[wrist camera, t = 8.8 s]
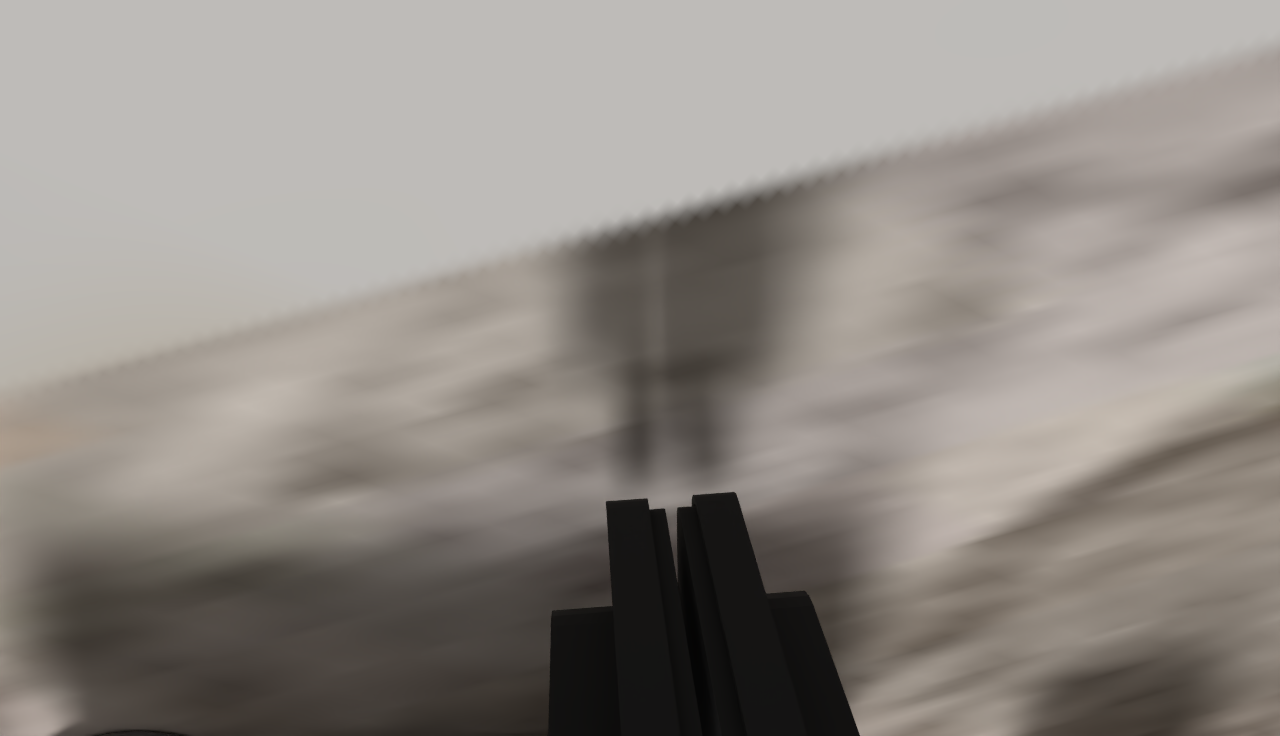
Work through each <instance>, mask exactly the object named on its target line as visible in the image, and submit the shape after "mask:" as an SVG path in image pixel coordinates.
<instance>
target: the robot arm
mask: <svg viewBox="0 0 1280 736" xmlns="http://www.w3.org/2000/svg"><path fill="white" fill-rule="evenodd" d="M606 510H607V525H608V541H609V557H610V572H611V588H612V604H613V606H607V607H594V608H582V609H569V610H557V611H552V617H551V649H550V691H549V733H548V736H860V735H859V732H858V729H857V726H856V723H855V721H854V718H853V715H852V712H851V709H850V707H849V704H848V701H847V698H846V695H845V693H844V690H843V687H842V684H841V682H840V679H839V676H838V673H837V670H836V668H835V665H834V662H833V659H832V656H831V654H830V651H829V648H828V645H827V642H826V640H825V637H824V634H823V631H822V628H821V626H820V623H819V620H818V617H817V614H816V612H815V609H814V606H813V604H812V601H811V599H810V597H809V595H808V594H807V593H806V592H805V591H796V592H783V593H770V594H766V593H765V589H764V586H763V583H762V579H761V576H760V572H759V569H758V566H757V562H756V559H755V555H754V552H753V549H752V545H751V542H750V538H749V535H748V532H747V528H746V525H745V521H744V518H743V515H742V511H741V508H740V504H739V501H738V498H737V495H736V493H735V492H729V493H715V494H702V495H693V497H692V507H679V508H677V558H678V584H677V578H676V572H675V566H674V560H673V554H672V547H671V541H670V535H669V529H668V523H667V517H666V512H665V509H651V510H649V504H648V499H633V500H619V501H606Z"/></svg>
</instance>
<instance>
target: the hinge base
mask: <svg viewBox="0 0 1280 736" xmlns="http://www.w3.org/2000/svg"><path fill="white" fill-rule="evenodd" d="M98 736H179V735H175V734H168V733H160V732H146V731H129V732H116V733H108V734H103V735H98Z"/></svg>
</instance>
